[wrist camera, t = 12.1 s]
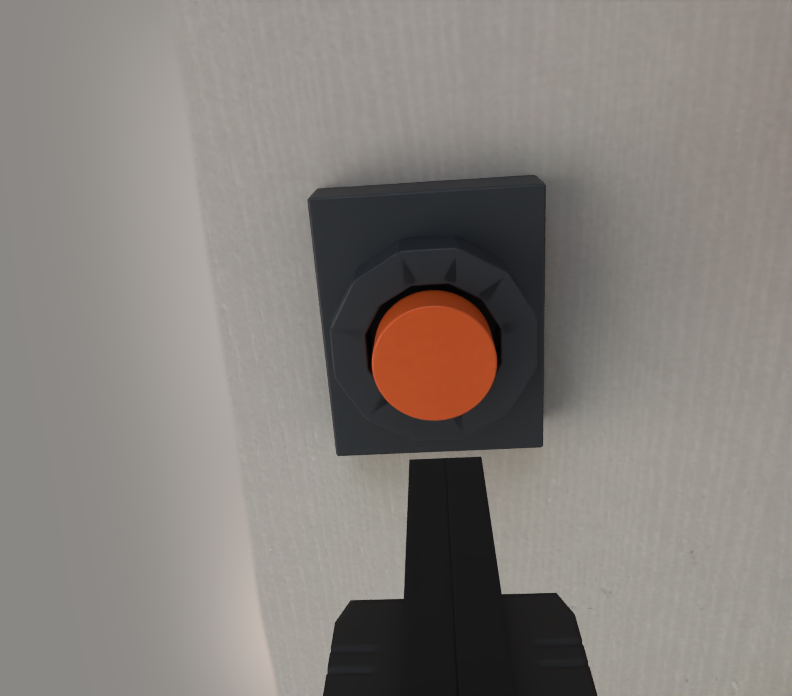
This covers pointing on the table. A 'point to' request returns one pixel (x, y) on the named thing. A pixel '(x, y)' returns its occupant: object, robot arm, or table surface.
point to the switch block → (432, 270)
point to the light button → (434, 355)
